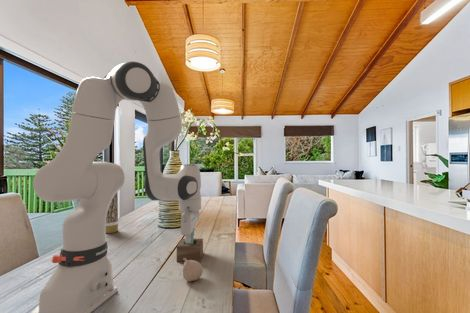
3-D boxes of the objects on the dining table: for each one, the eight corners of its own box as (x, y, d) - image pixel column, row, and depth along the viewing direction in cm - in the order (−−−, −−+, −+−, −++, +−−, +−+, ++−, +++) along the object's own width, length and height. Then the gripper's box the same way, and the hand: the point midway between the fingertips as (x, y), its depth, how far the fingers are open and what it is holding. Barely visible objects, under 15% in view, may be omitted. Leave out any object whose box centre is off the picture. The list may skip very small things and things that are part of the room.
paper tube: (112, 234, 135) (112, 186, 135) (101, 233, 136) (100, 186, 136) (120, 230, 142) (120, 185, 142) (109, 229, 143) (109, 184, 143)
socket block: (200, 261, 99) (200, 246, 99) (176, 261, 99) (176, 246, 98) (203, 252, 108) (202, 238, 108) (181, 253, 108) (181, 238, 108)
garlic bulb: (185, 275, 87) (185, 251, 87) (204, 275, 87) (203, 251, 87) (180, 285, 81) (180, 259, 81) (200, 285, 81) (200, 259, 81)
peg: (192, 259, 101) (192, 233, 101) (184, 258, 101) (184, 233, 101) (193, 256, 104) (194, 231, 104) (186, 255, 104) (186, 231, 104)
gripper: (193, 210, 93) (194, 248, 93) (201, 200, 113) (201, 232, 113) (176, 210, 93) (176, 248, 93) (186, 200, 113) (187, 232, 113)
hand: (190, 239), depth 103 cm, fingers open, 5 cm apart
